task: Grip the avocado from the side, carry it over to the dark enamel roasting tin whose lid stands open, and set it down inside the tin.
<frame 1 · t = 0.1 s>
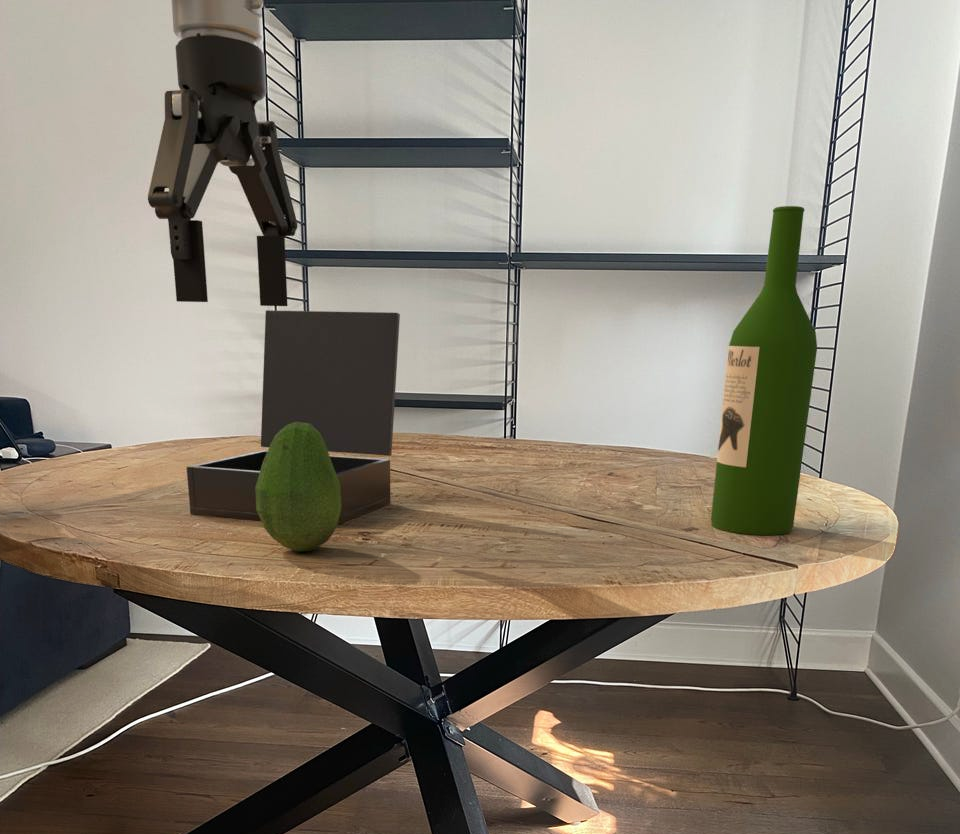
hand: (235, 304, 86), 22 cm above the table, tool pointing down, fingers open, 13 cm apart
tin lid: (328, 382, 110), point 14 cm above the table, hinge at 100.0°
avocado: (300, 551, 87), on the table
wine bottle: (750, 528, 102), on the table
tin: (294, 508, 106), on the table
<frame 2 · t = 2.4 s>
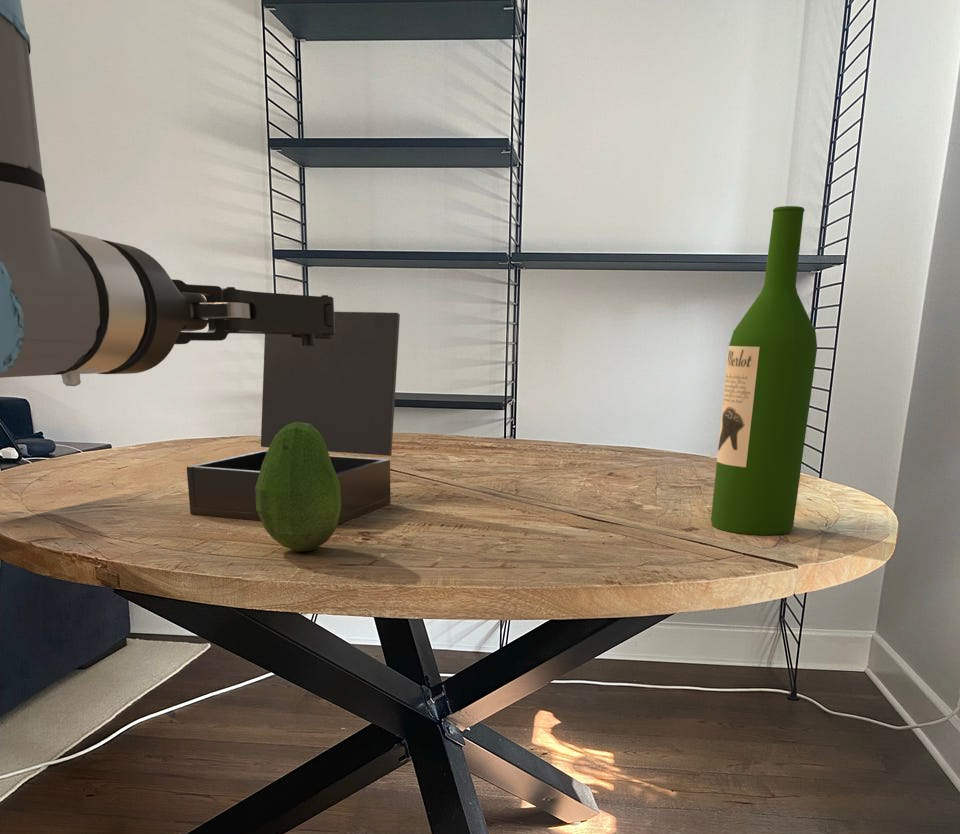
hand: (244, 321, 73), 21 cm above the table, tool horizontal, fingers open, 13 cm apart
nothing on the table moved.
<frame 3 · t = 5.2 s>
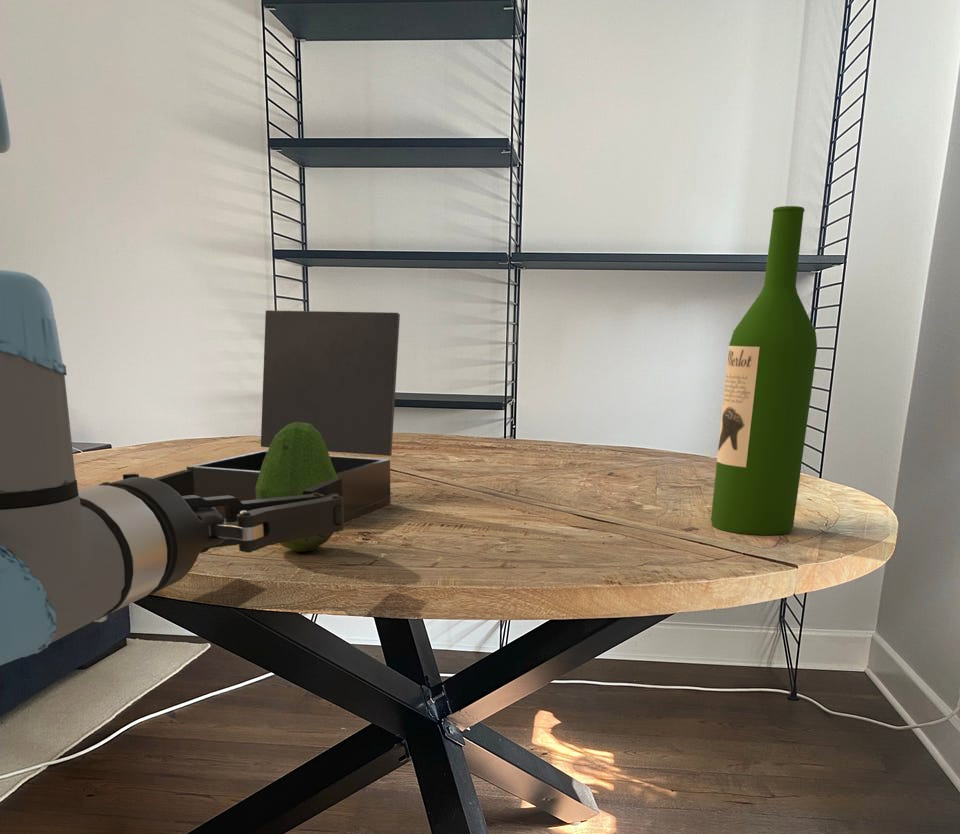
hand: (262, 490, 78), 7 cm above the table, tool horizontal, fingers open, 13 cm apart
nothing on the table moved.
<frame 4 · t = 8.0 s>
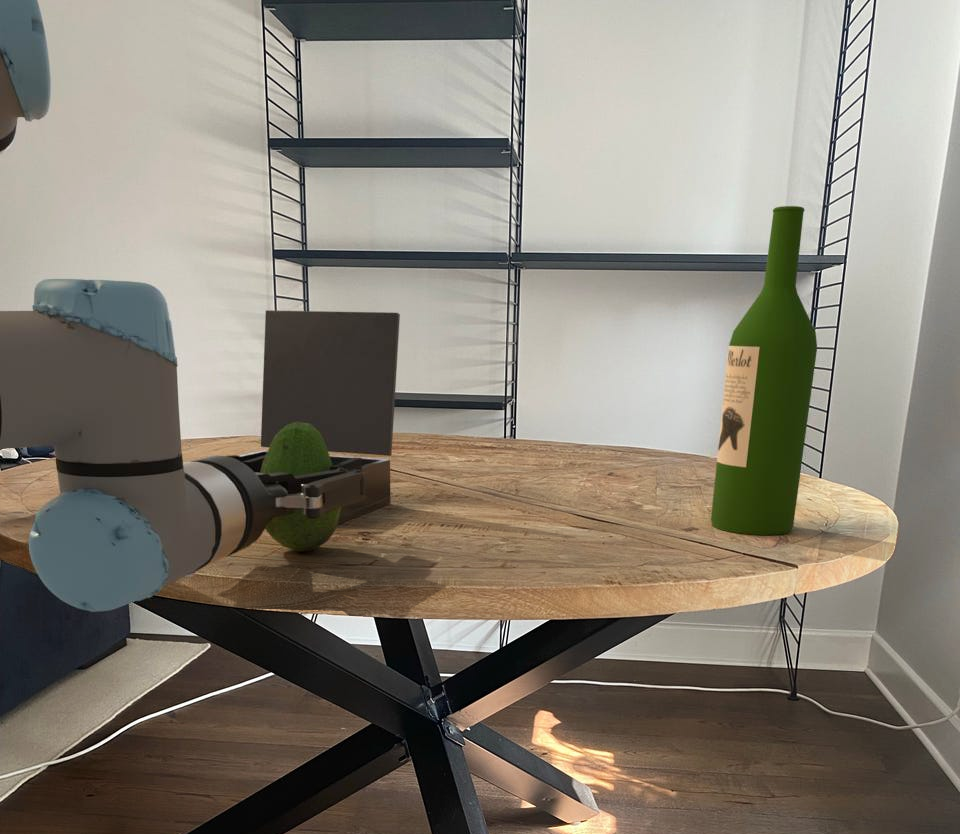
hand: (316, 469, 89), 7 cm above the table, tool horizontal, fingers closed on avocado, 8 cm apart
avocado: (300, 551, 87), on the table, touching gripper
everything else where it was.
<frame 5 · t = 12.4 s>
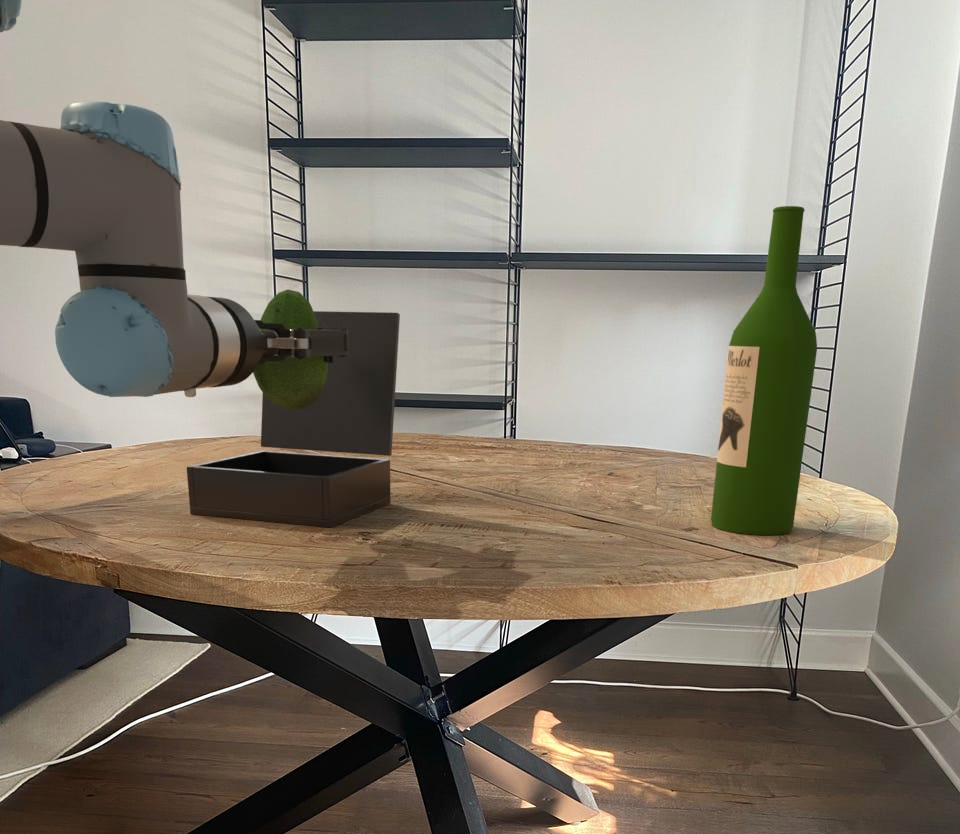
hand: (306, 340, 99), 19 cm above the table, tool horizontal, fingers closed on avocado, 8 cm apart
avocado: (291, 411, 97), point 12 cm above the table, touching gripper
everything else where it was.
when the fingers open (8 cm above the table, at t = 16.7 s): avocado stays where it is, resting on tin.
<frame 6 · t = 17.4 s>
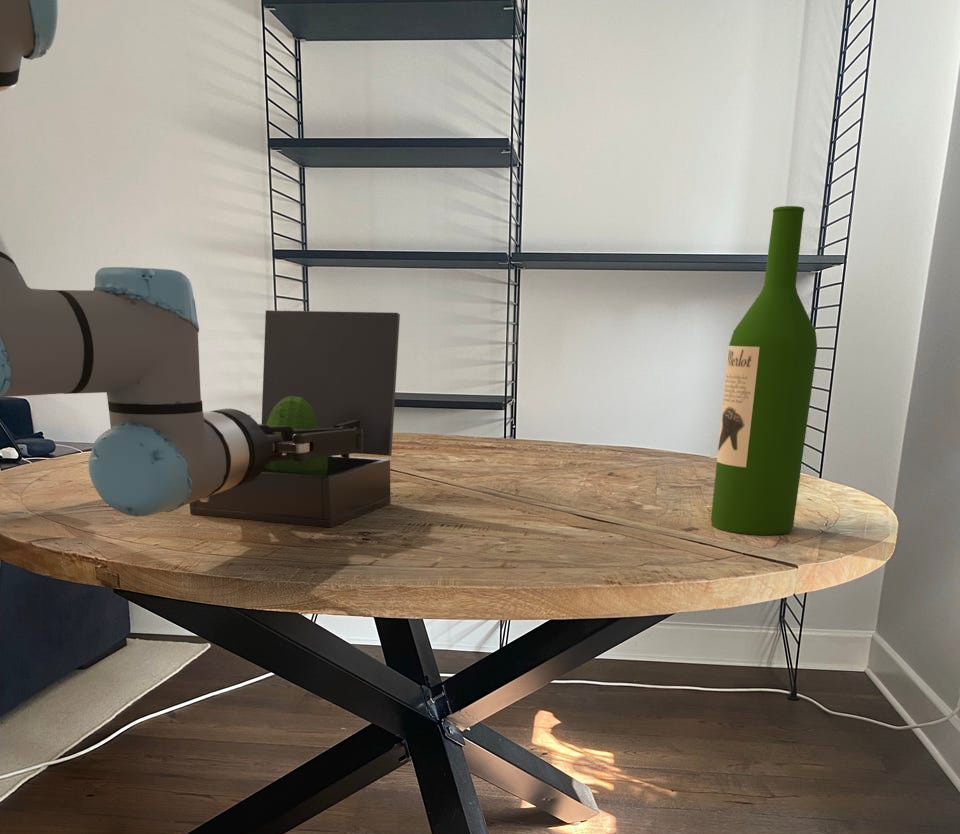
hand: (302, 429, 107), 9 cm above the table, tool horizontal, fingers open, 13 cm apart
avocado: (294, 503, 106), point 1 cm above the table, touching tin
everything else where it was.
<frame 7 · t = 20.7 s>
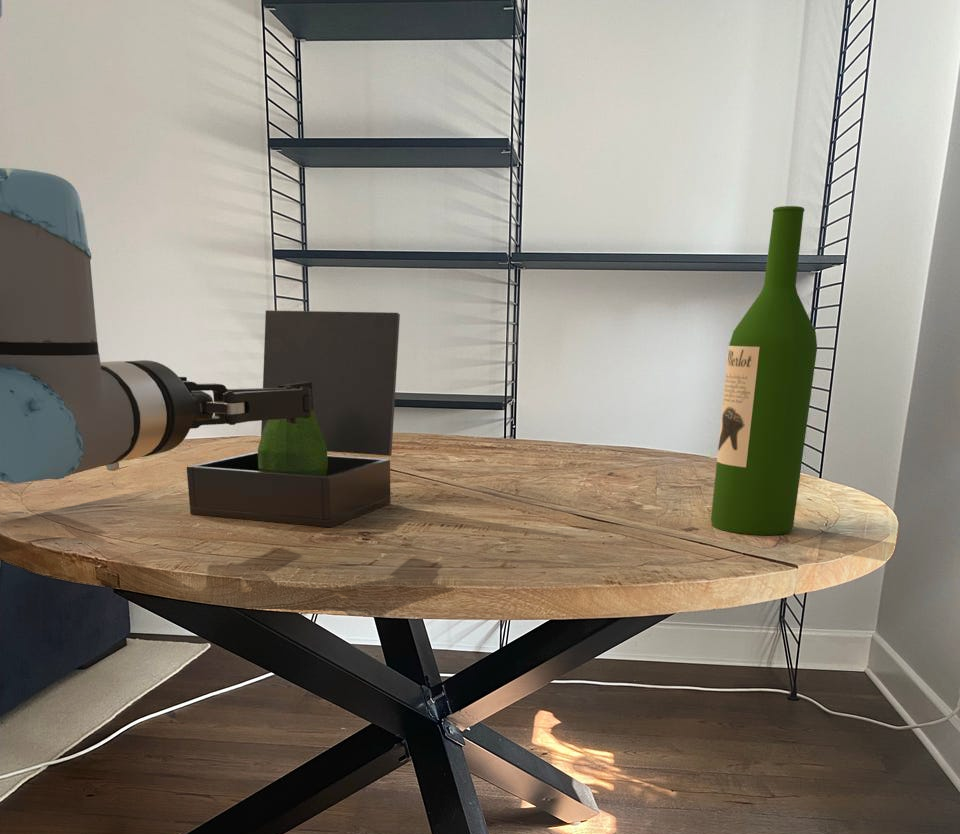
hand: (246, 393, 92), 14 cm above the table, tool horizontal, fingers open, 13 cm apart
nothing on the table moved.
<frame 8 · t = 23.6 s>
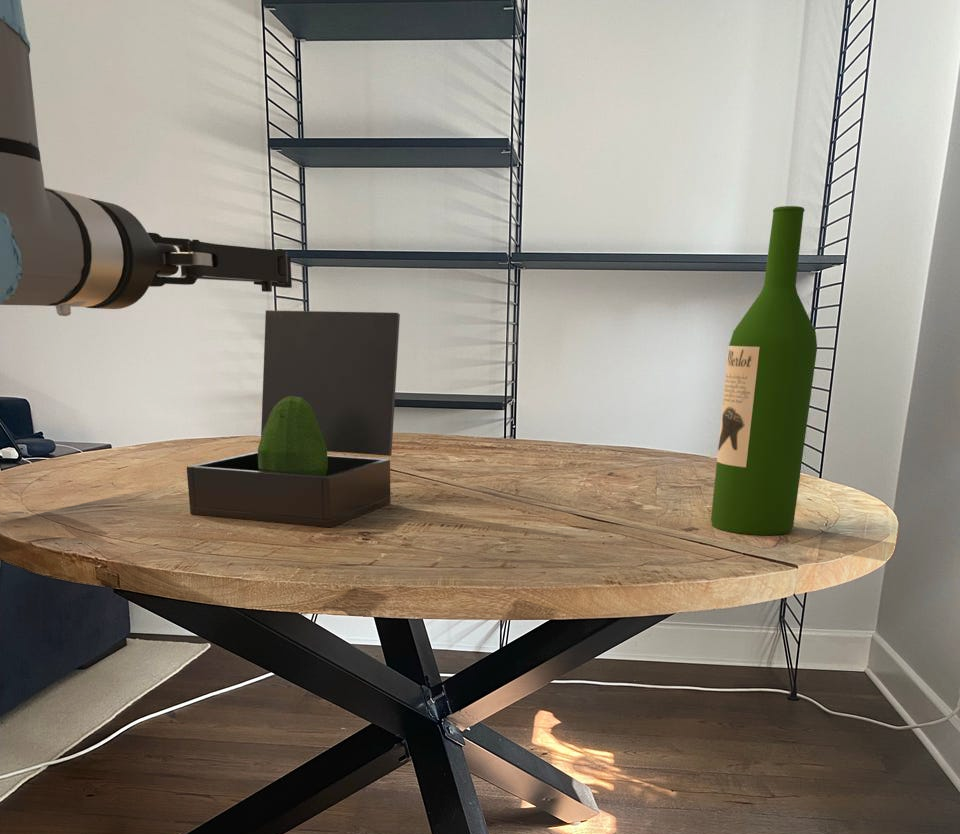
hand: (219, 271, 86), 25 cm above the table, tool horizontal, fingers open, 13 cm apart
nothing on the table moved.
at the end: avocado inside the target area in the tin (0.1 cm from its centre), point 0.6 cm above the tin's base; tin lid at +100° (first picture: +100°); the gripper is holding nothing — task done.
